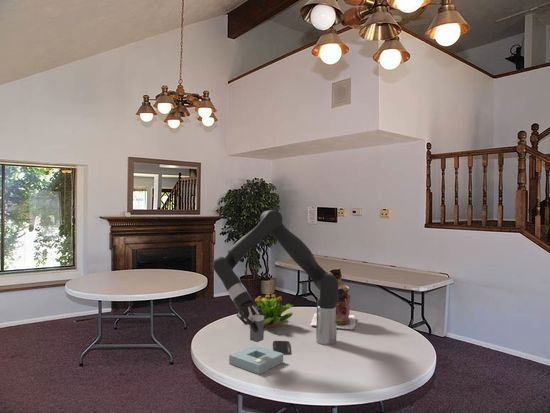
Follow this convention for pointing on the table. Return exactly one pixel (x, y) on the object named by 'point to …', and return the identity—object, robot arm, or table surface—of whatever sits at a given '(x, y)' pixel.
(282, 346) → the phone
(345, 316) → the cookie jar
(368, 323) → the table surface
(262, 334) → the plug
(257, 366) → the socket
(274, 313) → the green flowering plant
